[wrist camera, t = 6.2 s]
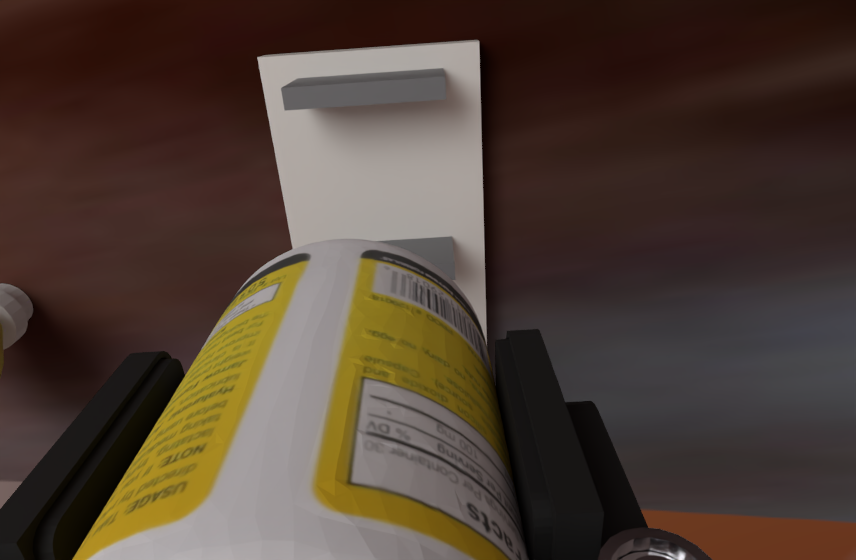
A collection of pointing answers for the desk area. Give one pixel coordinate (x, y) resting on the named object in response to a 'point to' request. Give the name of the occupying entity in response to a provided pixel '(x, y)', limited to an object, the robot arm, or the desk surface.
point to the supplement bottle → (327, 426)
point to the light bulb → (12, 316)
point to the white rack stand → (384, 151)
